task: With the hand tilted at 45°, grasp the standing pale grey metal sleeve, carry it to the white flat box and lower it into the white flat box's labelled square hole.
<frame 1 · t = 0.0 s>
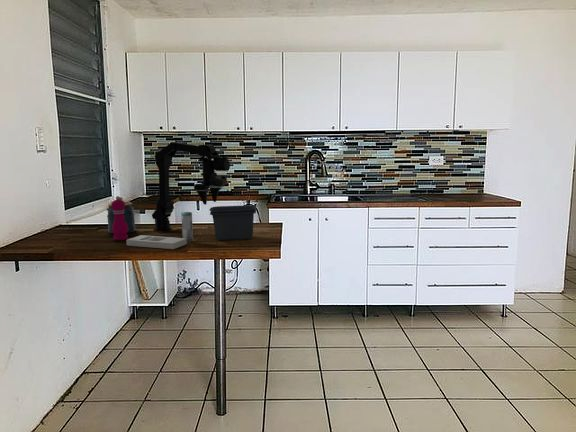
hand: (210, 203, 223), 15 cm above the countertop, tool pointing down, fingers open, 9 cm apart
canister: (122, 232, 231), on the countertop
storage bin: (234, 237, 214), on the countertop
pepper mill: (120, 239, 215), on the countertop
sleeve: (188, 241, 207), on the countertop
white flat box: (156, 244, 201), on the countertop
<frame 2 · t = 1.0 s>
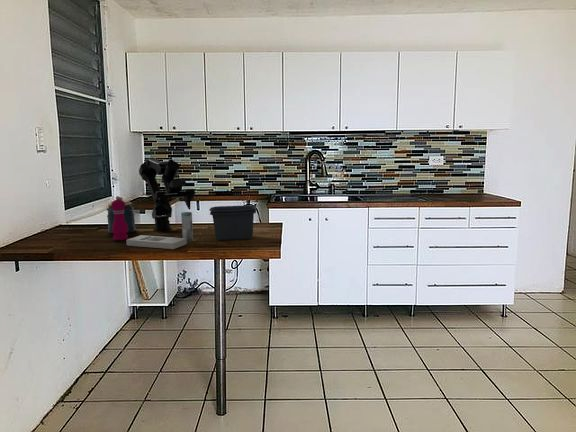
hand: (180, 210, 212), 13 cm above the countertop, tool tilted 45°, fingers open, 9 cm apart
nothing on the countertop moved.
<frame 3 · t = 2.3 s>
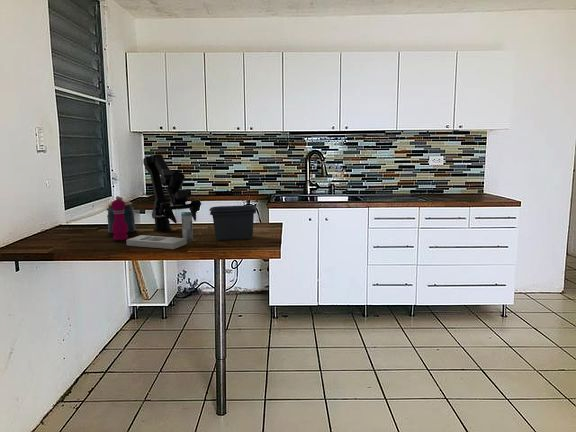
hand: (185, 221, 207), 9 cm above the countertop, tool tilted 45°, fingers open, 9 cm apart
nothing on the countertop moved.
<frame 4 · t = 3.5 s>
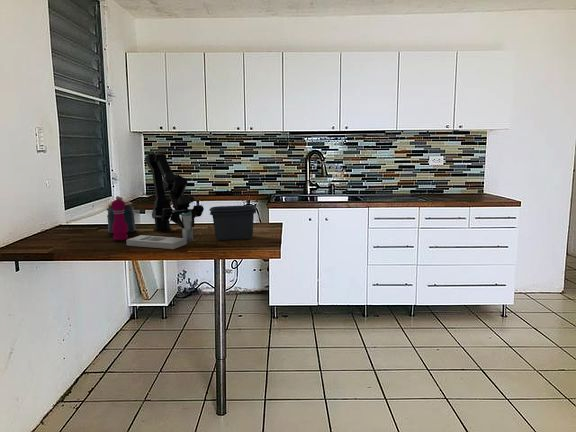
hand: (188, 227, 205), 7 cm above the countertop, tool tilted 45°, fingers closed on sleeve, 5 cm apart
sleeve: (188, 241, 207), on the countertop, touching gripper
everything else where it was.
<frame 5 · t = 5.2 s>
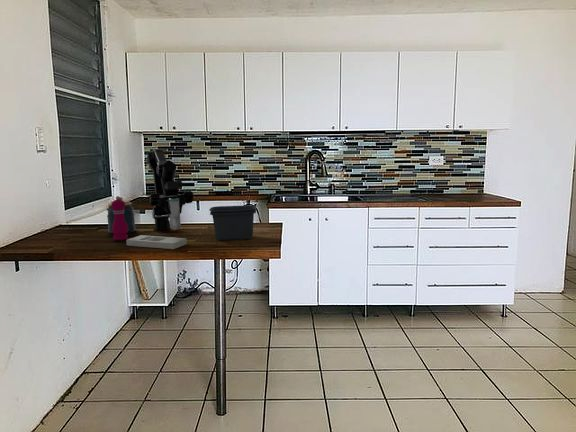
hand: (175, 213, 201), 13 cm above the countertop, tool tilted 45°, fingers closed on sleeve, 5 cm apart
sleeve: (175, 227, 203), point 7 cm above the countertop, touching gripper
everything else where it was.
when the fingers open (8 cm above the countertop, at t = 7.2 s): sleeve drops 1 cm, resting in white flat box.
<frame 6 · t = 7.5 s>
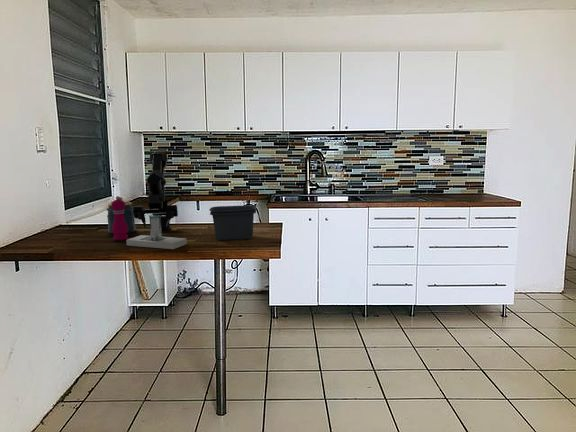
hand: (155, 227, 199), 8 cm above the countertop, tool tilted 45°, fingers open, 8 cm apart
sleeve: (156, 244, 201), resting in white flat box
everything else where it was.
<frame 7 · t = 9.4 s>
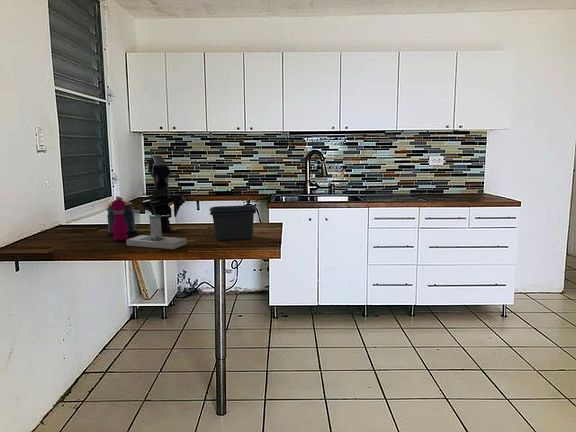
hand: (165, 219, 211), 9 cm above the countertop, tool tilted 30°, fingers open, 9 cm apart
nothing on the countertop moved.
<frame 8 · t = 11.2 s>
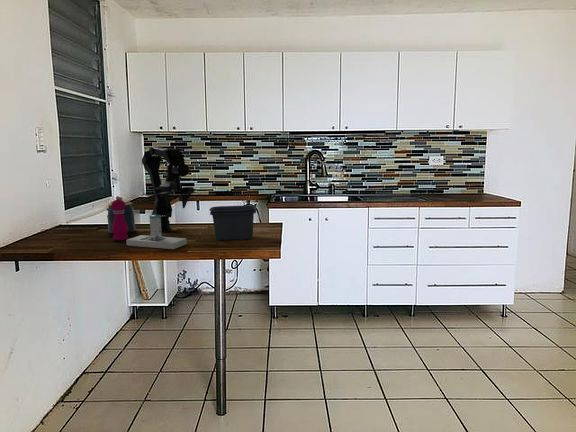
hand: (175, 207, 220), 13 cm above the countertop, tool pointing down, fingers open, 9 cm apart
nothing on the countertop moved.
at the end: sleeve 0.0 cm off-centre on the white flat box, point 0.0 cm above the white flat box's base; sleeve tilted 0°; the gripper is holding nothing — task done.
